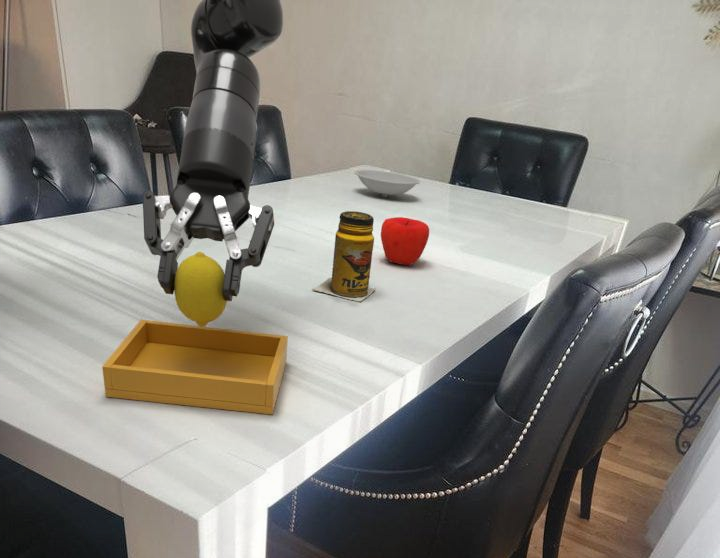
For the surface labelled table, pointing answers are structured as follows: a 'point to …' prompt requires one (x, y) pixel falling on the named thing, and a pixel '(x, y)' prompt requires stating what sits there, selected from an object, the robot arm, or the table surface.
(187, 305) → the lemon
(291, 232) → the table surface
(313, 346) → the table surface
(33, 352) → the table surface
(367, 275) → the condiment
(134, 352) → the yellow tray
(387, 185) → the dish
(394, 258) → the apple
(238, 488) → the table surface
